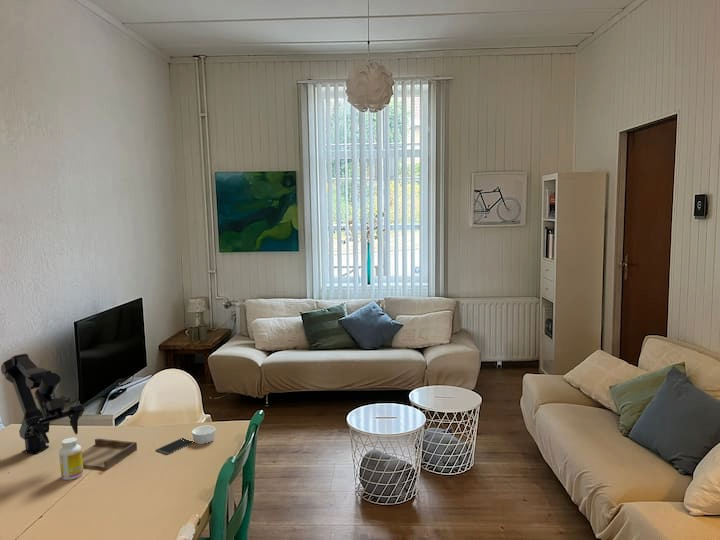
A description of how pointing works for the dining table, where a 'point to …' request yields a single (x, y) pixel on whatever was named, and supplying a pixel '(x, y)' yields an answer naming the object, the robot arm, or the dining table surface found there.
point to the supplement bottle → (70, 459)
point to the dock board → (107, 453)
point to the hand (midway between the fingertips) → (62, 438)
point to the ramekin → (203, 434)
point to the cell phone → (173, 446)
